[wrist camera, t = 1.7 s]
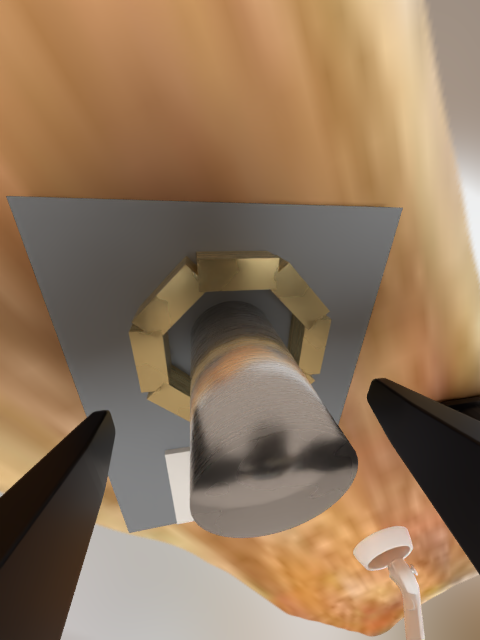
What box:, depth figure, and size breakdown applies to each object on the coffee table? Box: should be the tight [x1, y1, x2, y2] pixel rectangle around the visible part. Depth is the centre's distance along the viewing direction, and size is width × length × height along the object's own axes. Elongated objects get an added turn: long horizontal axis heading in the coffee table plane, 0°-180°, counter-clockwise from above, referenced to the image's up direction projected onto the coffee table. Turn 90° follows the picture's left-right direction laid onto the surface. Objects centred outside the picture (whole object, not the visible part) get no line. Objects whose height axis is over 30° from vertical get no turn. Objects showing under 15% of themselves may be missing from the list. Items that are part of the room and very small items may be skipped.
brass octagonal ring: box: [129, 251, 332, 422], centre depth 11 cm, size 8×8×2 cm
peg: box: [190, 301, 358, 538], centre depth 9 cm, size 4×4×7 cm
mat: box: [165, 447, 194, 524], centre depth 17 cm, size 8×8×1 cm
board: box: [6, 196, 403, 533], centre depth 14 cm, size 15×22×1 cm
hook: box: [353, 526, 425, 640], centre depth 28 cm, size 8×12×7 cm
